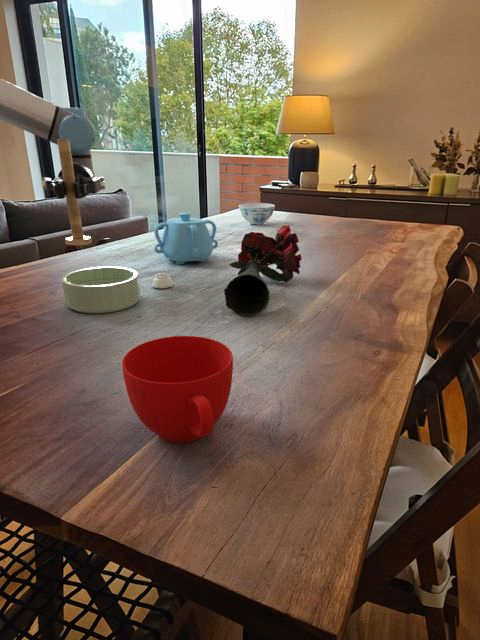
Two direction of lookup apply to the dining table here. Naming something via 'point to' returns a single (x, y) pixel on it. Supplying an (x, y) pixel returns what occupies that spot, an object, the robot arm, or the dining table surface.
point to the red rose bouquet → (261, 270)
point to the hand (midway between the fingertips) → (68, 191)
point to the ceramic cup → (179, 385)
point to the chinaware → (256, 212)
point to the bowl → (101, 289)
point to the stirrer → (71, 195)
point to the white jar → (162, 281)
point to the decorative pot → (186, 239)
